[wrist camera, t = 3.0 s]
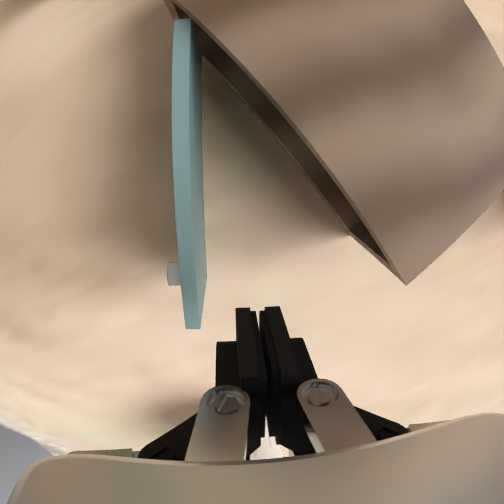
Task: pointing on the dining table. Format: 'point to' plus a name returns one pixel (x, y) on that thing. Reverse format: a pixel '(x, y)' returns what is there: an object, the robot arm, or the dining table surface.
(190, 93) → the door
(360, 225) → the bread box
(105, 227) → the dining table surface
